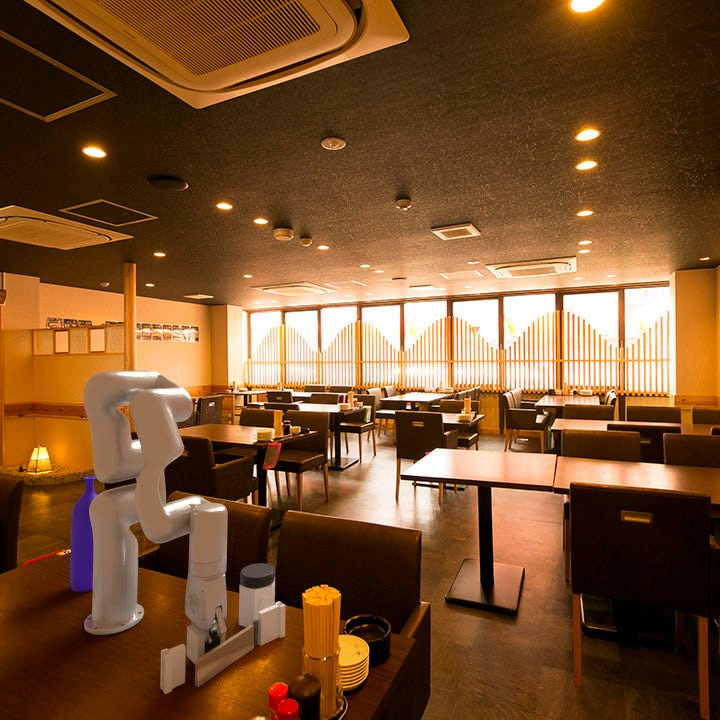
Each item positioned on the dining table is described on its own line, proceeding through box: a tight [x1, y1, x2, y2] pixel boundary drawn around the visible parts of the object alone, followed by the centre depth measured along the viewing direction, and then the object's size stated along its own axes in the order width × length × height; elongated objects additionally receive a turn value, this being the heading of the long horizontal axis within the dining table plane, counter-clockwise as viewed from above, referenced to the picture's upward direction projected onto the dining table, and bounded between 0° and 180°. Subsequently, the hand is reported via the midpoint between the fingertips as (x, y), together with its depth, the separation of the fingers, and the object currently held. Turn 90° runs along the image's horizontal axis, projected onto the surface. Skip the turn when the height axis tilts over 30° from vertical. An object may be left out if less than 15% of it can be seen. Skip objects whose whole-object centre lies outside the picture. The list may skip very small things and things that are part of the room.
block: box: [186, 620, 226, 665], centre depth 95 cm, size 5×6×6 cm
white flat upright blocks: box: [159, 601, 286, 695], centre depth 96 cm, size 2×27×7 cm, turn 134°
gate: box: [194, 620, 259, 688], centre depth 94 cm, size 1×16×5 cm, turn 148°
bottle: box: [69, 475, 98, 593], centre depth 127 cm, size 8×8×30 cm
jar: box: [238, 562, 276, 628], centre depth 111 cm, size 9×8×12 cm
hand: (205, 651), depth 95 cm, fingers closed on block, 5 cm apart
